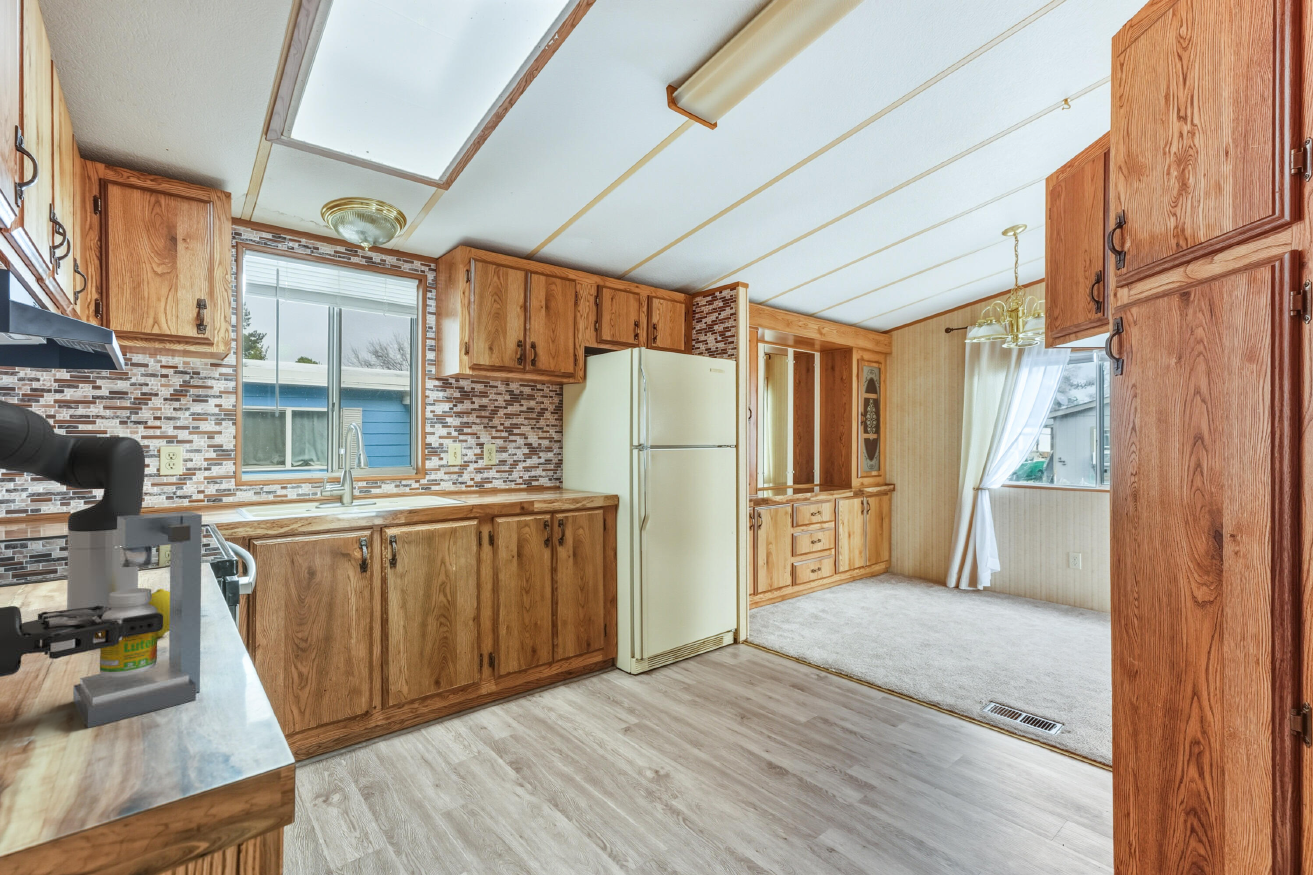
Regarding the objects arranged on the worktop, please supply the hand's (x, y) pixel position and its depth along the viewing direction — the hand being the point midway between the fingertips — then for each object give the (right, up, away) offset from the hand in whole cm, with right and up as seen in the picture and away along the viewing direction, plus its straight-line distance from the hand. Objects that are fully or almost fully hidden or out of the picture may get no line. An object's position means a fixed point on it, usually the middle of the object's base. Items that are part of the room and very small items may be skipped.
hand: (156, 616), depth 78 cm
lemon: (-18, -10, +23) cm, 31 cm away
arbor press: (0, -10, -2) cm, 10 cm away
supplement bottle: (-2, -6, -2) cm, 7 cm away
